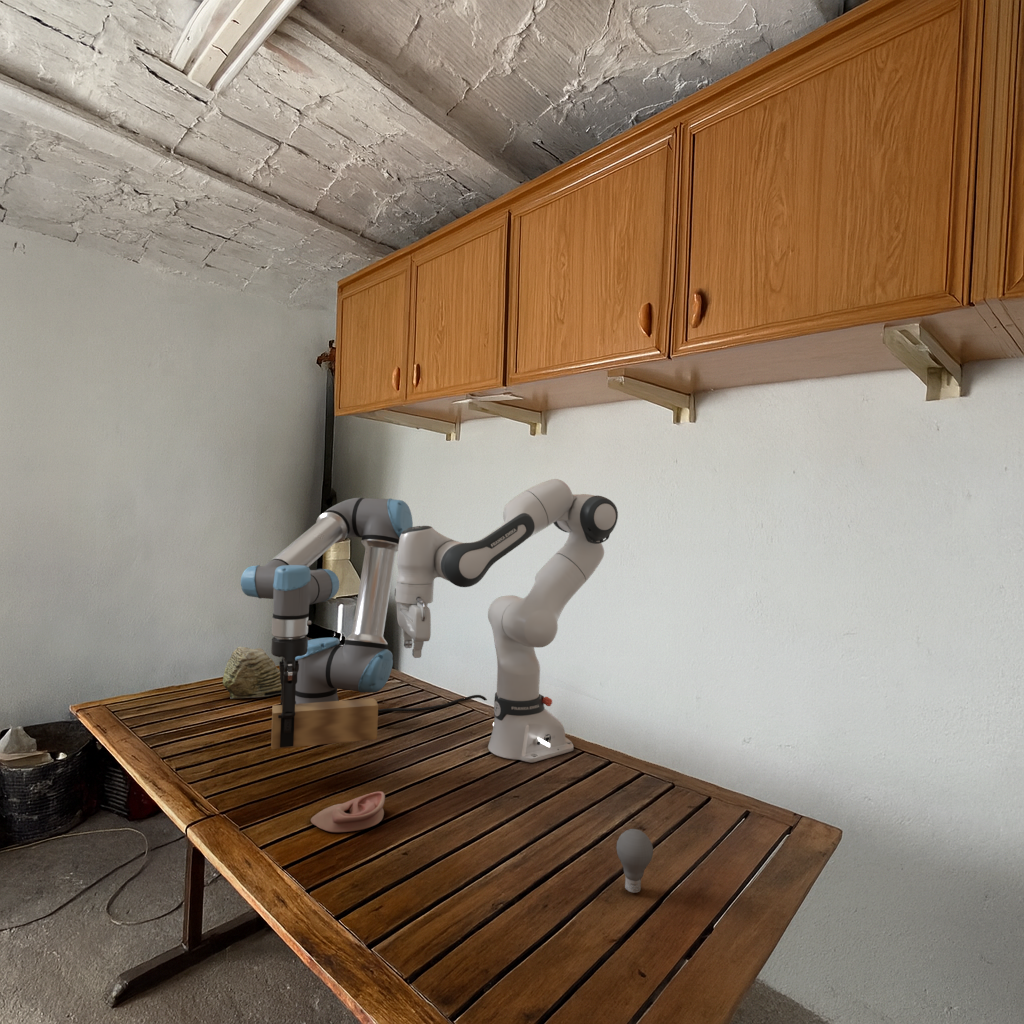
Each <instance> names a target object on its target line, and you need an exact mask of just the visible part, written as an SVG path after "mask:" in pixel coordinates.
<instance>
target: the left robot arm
mask: <svg viewBox="0 0 1024 1024" xmlns="http://www.w3.org/2000/svg"><path fill="white" fill-rule="evenodd" d="M315 521H316V522H315V523H314V524H313V525H311V526H310V527H309V528H308V529H307V530H306V531H305V532H303V533H302V534H300V535H299V536H298V537H297V538H296V539H294V540H293V541H292V542H291V543H290V544H288V546H286V547H285V548H283V550H281V551H280V552H279V553H278V554H277V555H275V556H273V558H271V559H270V560H269V561H268V562H267V563H266V564H264V565H260V564H259V565H258V564H257V565H251V566H248V567H247V568H245V570H243V572H242V574H241V577H240V587H241V590H242V593H243V594H244V595H245V596H247V597H252V598H258V599H269V600H273V601H272V602H273V603H272V604H273V605H272V609H273V611H272V617H271V635H272V636H273V637H272V638H271V649H270V650H271V651H270V653H271V655H272V656H274V657H278V658H280V657H281V661H280V660H279V662H278V663H279V665H278V666H279V668H278V669H279V670H280V680H281V682H280V683H281V684H282V685H281V693H280V698H279V699H280V704H279V705H282V714H281V715H278V718H281V732H280V747H290V746H293V742H294V717H295V704H302V703H316V702H330V701H340V699H339V695H338V690H344V691H345V690H346V691H352V692H359V693H371V694H372V693H373V694H374V693H378V692H380V691H381V690H382V689H383V688H384V687H385V685H386V684H387V683H388V681H389V679H390V676H391V673H392V669H393V665H394V659H393V658H394V657H393V652H392V651H391V650H389V649H388V642H387V640H386V639H385V637H384V635H385V634H384V632H385V627H386V621H387V613H388V607H389V601H390V594H391V588H392V587H391V586H392V580H393V574H394V568H395V560H396V554H397V553H398V545H399V539H400V536H401V533H402V532H403V531H404V530H405V529H407V528H411V527H414V526H413V525H414V524H413V516H412V512H411V509H410V506H409V504H408V503H407V502H406V501H404V500H401V499H395V498H372V497H370V498H369V497H353V498H349V499H345V500H343V501H341V502H337V503H336V504H333V505H332V506H331V507H329V508H328V509H326V510H325V511H323V512H322V513H321V514H320V515H318V517H317V519H316V520H315ZM348 538H349V539H350V538H359V539H360V538H361V542H360V543H361V544H362V545H363V547H364V549H365V550H364V551H365V552H364V556H363V562H362V569H361V575H360V581H359V587H358V592H357V593H358V594H357V599H356V604H355V605H356V606H355V611H354V617H353V623H352V628H351V633H350V634H349V635H348V636H347V637H345V638H344V643H343V645H342V644H340V643H341V641H340V639H339V638H338V637H318V638H313V639H309V637H308V636H307V635H308V633H309V626H311V625H312V620H309V615H310V605H311V606H312V605H314V604H317V603H324V602H327V601H329V600H331V599H333V598H334V597H336V595H337V594H338V592H339V590H340V580H339V577H338V575H337V574H336V573H335V572H334V571H333V570H331V569H328V568H317V569H310V567H311V565H313V564H314V563H315V562H316V561H317V560H318V559H319V558H321V556H322V555H324V554H325V553H326V552H327V551H328V550H329V549H330V548H331V547H333V545H334V544H339V543H341V542H344V541H345V540H346V539H348ZM464 698H465V699H464ZM473 699H481V700H483V701H488V699H487V698H486V697H485V696H484V695H481V694H473V695H472V694H471V695H469V696H466V697H461V698H457V699H454V700H451V701H449V702H446V703H441V704H437V705H432V706H431V705H430V706H423V707H409V708H408V707H388V708H380V709H379V708H378V714H380V713H389V712H423V711H432V710H437V709H441V708H442V709H443V708H446V707H449V706H453V705H454V704H457V703H461V702H465V701H469V700H473ZM290 748H291V747H290Z"/></svg>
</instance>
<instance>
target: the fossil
mask: <svg viewBox="0 0 1024 1024" xmlns="http://www.w3.org/2000/svg"><path fill="white" fill-rule="evenodd" d="M222 676H223V677H222V685H223V687H224V688H225V690H226V691H228V693H229V698H230V699H250V698H264V697H271V696H275V695H281V685H282V684H281V683H280V682H281V680H280V669H279V668H278V667H277V665H276V663H275V662H274V660H273V659H272V658H271V657H270V656H269V655H268V654H267V653H266V652H265V650H264V649H263V648H260V647H258V648H251V647H247V646H246V647H245V646H238V647H237V648H236V649H235V650H233V651H232V653H231V656H230V657H229V659H228V660H227V663H226V666H225V668H224V671H223V675H222Z"/></svg>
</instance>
